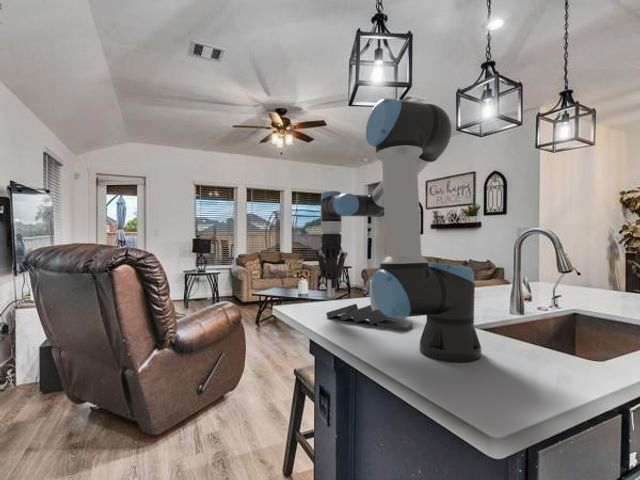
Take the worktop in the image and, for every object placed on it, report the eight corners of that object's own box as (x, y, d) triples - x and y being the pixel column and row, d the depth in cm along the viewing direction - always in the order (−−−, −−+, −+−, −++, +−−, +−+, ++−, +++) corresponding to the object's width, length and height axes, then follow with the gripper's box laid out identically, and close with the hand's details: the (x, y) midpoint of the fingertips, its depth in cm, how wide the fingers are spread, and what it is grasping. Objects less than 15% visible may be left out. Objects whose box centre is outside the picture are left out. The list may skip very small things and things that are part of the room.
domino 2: (349, 317, 134) (372, 310, 129) (341, 320, 129) (364, 313, 124) (348, 312, 135) (370, 304, 129) (339, 315, 130) (362, 307, 124)
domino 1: (337, 315, 138) (358, 309, 132) (327, 318, 133) (348, 312, 127) (335, 309, 138) (356, 303, 132) (325, 312, 134) (346, 306, 128)
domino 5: (384, 324, 127) (412, 329, 121) (377, 328, 122) (405, 333, 116) (384, 319, 126) (412, 323, 121) (377, 322, 121) (405, 327, 116)
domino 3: (362, 319, 131) (386, 312, 126) (354, 322, 126) (379, 315, 121) (360, 314, 132) (384, 306, 127) (352, 317, 127) (377, 309, 122)
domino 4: (377, 321, 128) (403, 313, 123) (370, 324, 123) (396, 316, 118) (375, 315, 129) (400, 307, 124) (368, 318, 123) (394, 310, 119)
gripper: (351, 233, 134) (351, 297, 135) (322, 233, 142) (322, 293, 143) (340, 233, 128) (340, 300, 129) (311, 233, 136) (311, 296, 136)
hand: (331, 296), depth 136 cm, fingers closed
